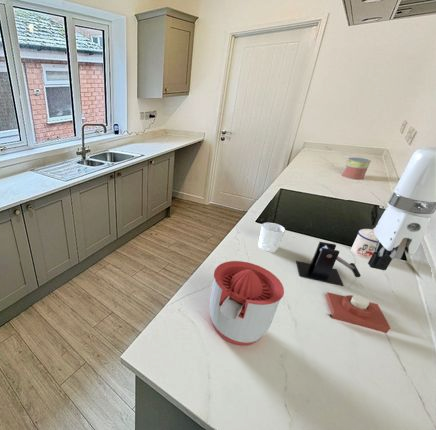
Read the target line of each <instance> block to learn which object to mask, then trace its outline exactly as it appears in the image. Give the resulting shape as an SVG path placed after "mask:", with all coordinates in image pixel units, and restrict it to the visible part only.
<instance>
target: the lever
mask: <svg viewBox="0 0 436 430" xmlns="http://www.w3.org/2000/svg"><path fill="white" fill-rule="evenodd" d="M322 248H327V249H331V248H330V247H329V246H327V245H325V246H324V247H322ZM322 248H321V249H322ZM321 249H320V251H321ZM332 250H333V249H332ZM336 261H337V262H339V263H340V264H341V265H343V266H345V267H346V268H348V269H349V270H351V271H352V274H353V275H354V277H355V278H360V277H361V276H362V275H361V273H360V271H359V269H358V268H357V266H356V264H355V263H354V262H350V263H349V262H347V261H346V260H344V259H343V258H341V257H340V256H338V257H337V259H336Z"/></svg>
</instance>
